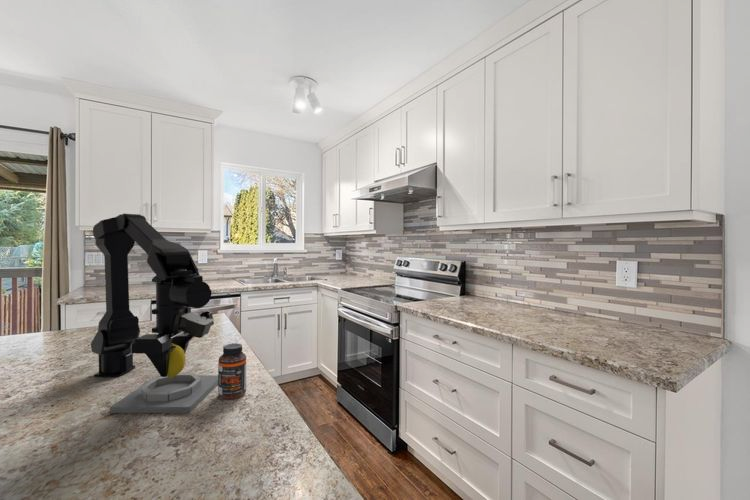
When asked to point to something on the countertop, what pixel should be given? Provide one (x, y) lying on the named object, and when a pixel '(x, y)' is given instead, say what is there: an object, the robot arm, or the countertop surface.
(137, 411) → the ring plate
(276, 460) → the countertop surface
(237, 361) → the supplement bottle
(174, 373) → the lemon
